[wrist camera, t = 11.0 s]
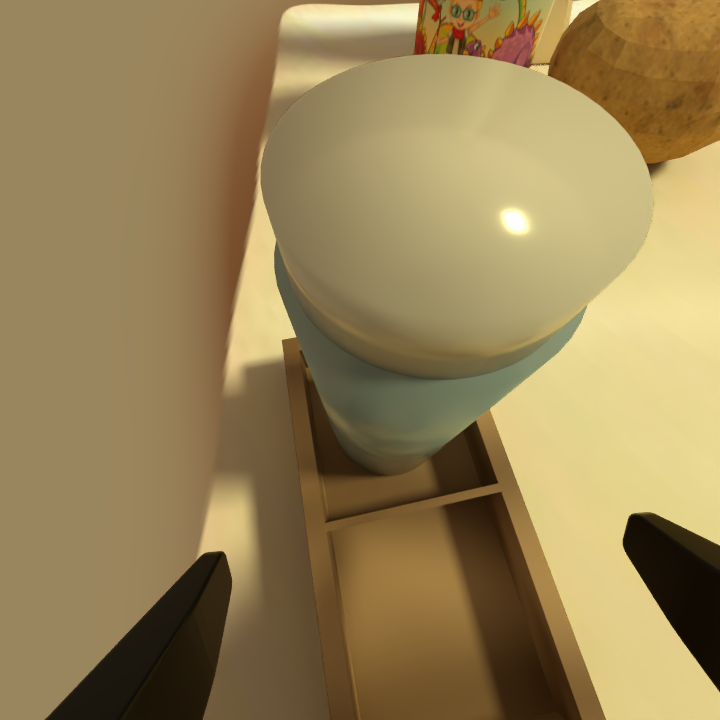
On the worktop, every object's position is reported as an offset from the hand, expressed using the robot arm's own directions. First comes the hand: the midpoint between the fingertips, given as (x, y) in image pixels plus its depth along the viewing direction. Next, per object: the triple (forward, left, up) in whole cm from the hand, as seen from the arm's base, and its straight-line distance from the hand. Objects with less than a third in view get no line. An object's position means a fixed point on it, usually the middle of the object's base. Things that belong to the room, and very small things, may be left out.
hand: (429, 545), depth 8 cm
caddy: (+1, -1, -8) cm, 8 cm away
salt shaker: (+5, -1, -7) cm, 9 cm away
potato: (+21, -22, -8) cm, 31 cm away
